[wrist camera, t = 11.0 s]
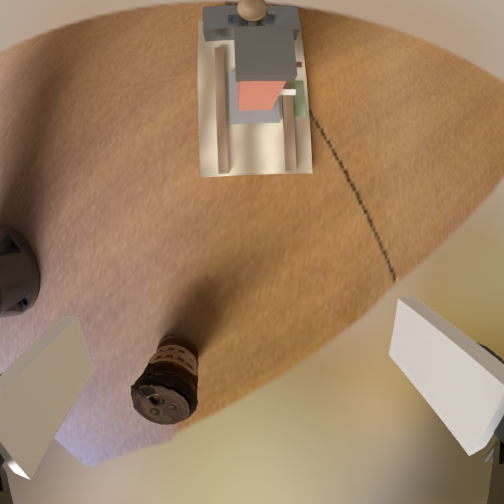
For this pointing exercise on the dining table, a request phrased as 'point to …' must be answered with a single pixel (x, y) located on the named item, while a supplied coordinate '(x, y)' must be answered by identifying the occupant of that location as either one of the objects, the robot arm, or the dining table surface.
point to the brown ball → (252, 9)
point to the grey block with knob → (226, 18)
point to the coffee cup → (168, 382)
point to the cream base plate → (255, 134)
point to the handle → (261, 73)
